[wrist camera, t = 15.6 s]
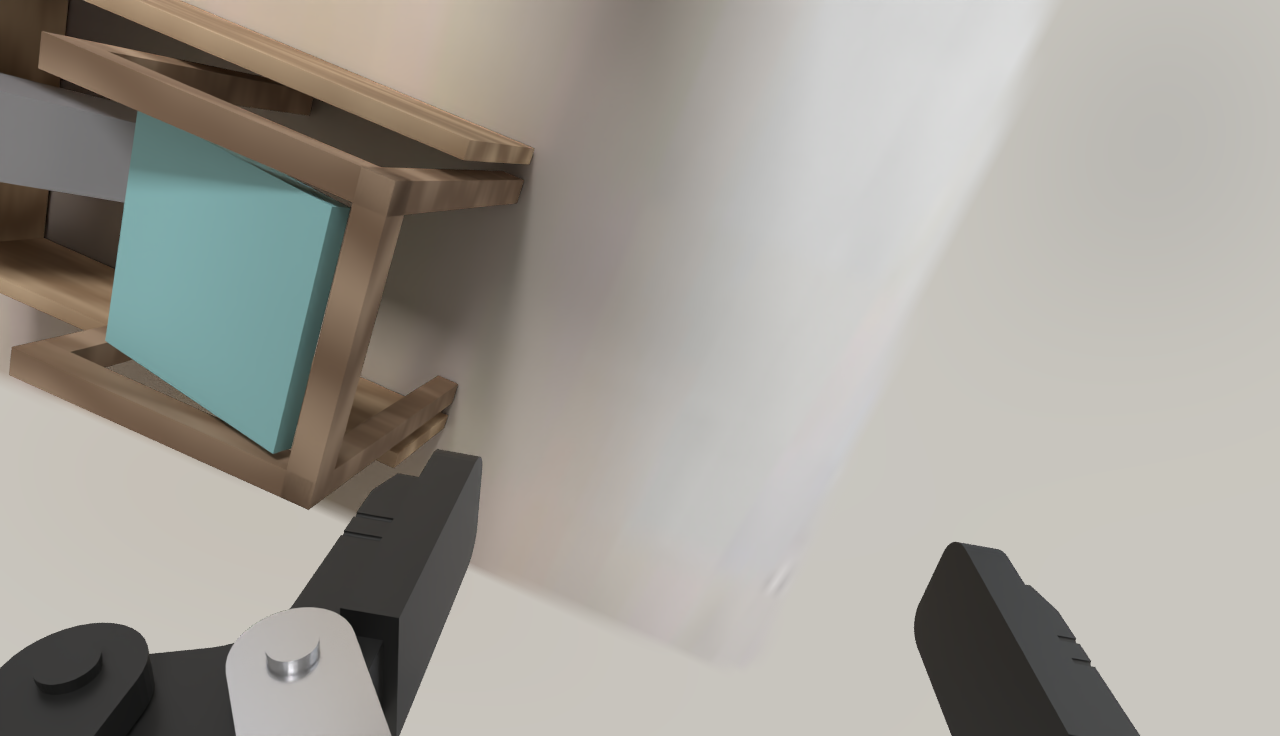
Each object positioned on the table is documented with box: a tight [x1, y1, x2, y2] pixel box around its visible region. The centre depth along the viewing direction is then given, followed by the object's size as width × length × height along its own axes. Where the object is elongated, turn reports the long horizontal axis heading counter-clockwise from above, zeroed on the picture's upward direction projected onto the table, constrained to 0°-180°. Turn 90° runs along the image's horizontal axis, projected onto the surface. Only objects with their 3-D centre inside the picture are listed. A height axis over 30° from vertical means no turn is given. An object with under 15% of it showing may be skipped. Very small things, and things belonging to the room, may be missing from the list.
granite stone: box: [0, 73, 137, 203], centre depth 40 cm, size 5×5×11 cm
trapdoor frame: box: [0, 0, 534, 510], centre depth 38 cm, size 20×33×16 cm, turn 68°
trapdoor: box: [105, 111, 350, 454], centre depth 32 cm, size 12×12×1 cm
